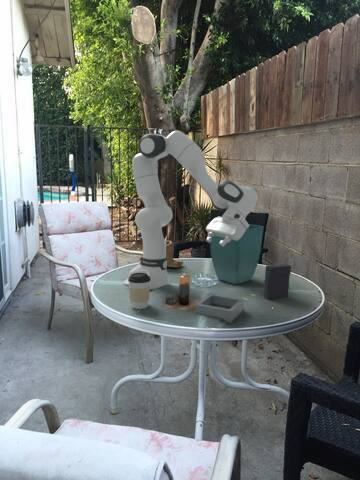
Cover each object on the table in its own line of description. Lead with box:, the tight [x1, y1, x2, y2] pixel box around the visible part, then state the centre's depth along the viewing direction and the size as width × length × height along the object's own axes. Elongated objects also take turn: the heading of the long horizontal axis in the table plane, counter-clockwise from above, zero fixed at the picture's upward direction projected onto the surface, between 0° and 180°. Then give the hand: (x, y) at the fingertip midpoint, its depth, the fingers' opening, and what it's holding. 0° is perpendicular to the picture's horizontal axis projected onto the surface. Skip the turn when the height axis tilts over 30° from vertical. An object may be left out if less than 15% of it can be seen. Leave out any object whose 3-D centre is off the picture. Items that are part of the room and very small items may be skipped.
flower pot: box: [209, 223, 265, 285], centre depth 209 cm, size 20×20×28 cm
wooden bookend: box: [166, 240, 184, 268], centre depth 234 cm, size 15×12×15 cm
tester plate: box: [161, 291, 202, 313], centre depth 171 cm, size 14×14×4 cm
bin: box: [194, 293, 245, 324], centre depth 164 cm, size 15×15×5 cm
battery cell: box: [178, 273, 191, 305], centre depth 170 cm, size 4×4×13 cm
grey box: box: [263, 263, 292, 301], centre depth 184 cm, size 11×4×15 cm, turn 111°
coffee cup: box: [127, 273, 151, 310], centre depth 167 cm, size 9×9×15 cm
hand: (214, 243), depth 175 cm, fingers open, 8 cm apart
